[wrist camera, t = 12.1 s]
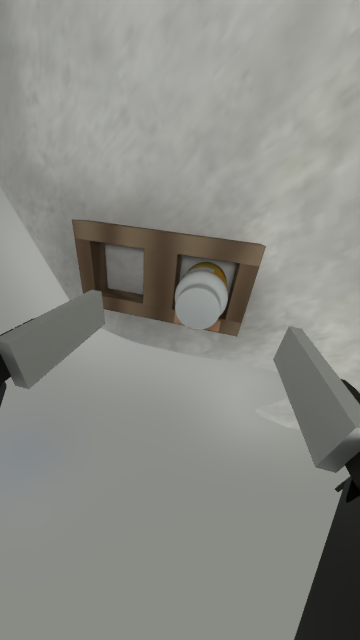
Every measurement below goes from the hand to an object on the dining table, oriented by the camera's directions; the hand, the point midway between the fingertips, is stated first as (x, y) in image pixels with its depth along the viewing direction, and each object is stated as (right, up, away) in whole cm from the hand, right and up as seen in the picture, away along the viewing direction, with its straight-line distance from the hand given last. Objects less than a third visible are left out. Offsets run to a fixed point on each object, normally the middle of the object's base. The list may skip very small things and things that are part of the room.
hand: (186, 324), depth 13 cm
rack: (-2, +6, +12) cm, 14 cm away
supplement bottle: (+3, +5, +11) cm, 13 cm away
